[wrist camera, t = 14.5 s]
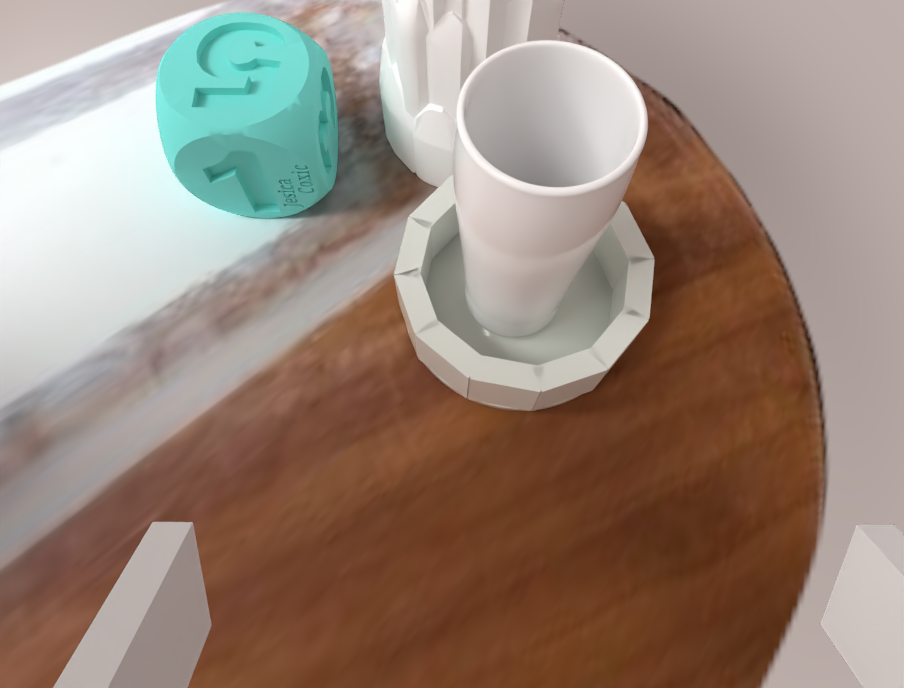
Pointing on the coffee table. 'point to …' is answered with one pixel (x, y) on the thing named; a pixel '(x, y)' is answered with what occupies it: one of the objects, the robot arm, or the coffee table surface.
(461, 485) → the coffee table surface
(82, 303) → the coffee table surface
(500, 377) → the dish
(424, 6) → the decorative vase
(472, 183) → the drinking glass
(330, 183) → the decorative dice
